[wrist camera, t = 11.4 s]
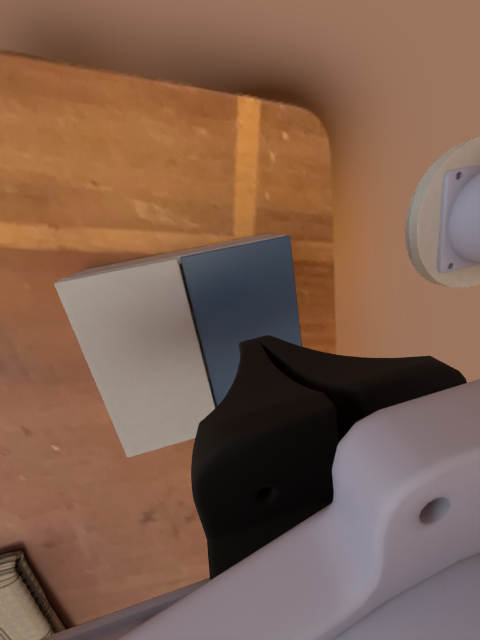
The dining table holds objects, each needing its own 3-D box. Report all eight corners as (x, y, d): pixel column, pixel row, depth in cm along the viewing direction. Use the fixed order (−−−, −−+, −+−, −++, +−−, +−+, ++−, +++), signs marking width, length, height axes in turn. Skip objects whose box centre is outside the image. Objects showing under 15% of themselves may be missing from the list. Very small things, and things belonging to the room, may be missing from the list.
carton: (264, 233, 20) (291, 234, 15) (283, 370, 24) (309, 405, 19) (86, 269, 19) (51, 282, 14) (138, 409, 23) (126, 459, 18)
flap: (287, 235, 16) (290, 235, 15) (306, 402, 20) (308, 405, 19) (180, 257, 15) (179, 257, 15) (222, 425, 19) (222, 429, 19)
